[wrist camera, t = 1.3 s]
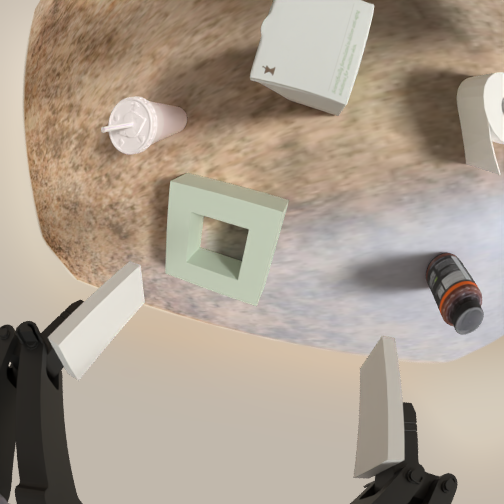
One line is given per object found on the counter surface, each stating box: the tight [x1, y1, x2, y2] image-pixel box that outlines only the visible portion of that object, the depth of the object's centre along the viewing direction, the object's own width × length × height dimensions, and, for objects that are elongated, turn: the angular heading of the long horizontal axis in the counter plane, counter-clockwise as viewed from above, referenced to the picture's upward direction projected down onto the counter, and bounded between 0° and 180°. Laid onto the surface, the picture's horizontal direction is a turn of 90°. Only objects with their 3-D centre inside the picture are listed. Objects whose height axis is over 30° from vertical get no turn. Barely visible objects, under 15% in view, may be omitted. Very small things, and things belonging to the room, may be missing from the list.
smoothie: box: [101, 97, 187, 154], centre depth 26 cm, size 6×6×14 cm
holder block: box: [166, 173, 289, 306], centre depth 36 cm, size 14×14×4 cm
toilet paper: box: [457, 72, 504, 175], centre depth 17 cm, size 8×11×7 cm
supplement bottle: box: [426, 253, 484, 334], centre depth 26 cm, size 6×6×11 cm
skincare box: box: [250, 0, 374, 116], centre depth 18 cm, size 8×7×16 cm
